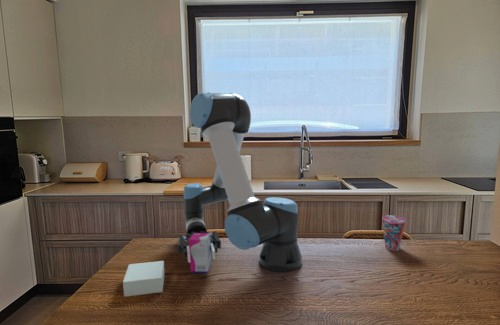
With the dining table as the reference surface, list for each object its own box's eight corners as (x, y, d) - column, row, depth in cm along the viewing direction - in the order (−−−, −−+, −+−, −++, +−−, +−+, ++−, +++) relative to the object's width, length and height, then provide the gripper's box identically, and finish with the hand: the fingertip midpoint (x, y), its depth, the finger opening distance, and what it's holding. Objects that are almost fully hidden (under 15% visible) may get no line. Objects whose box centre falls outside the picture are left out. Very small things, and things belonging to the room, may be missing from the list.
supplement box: (211, 264, 108) (210, 232, 106) (207, 273, 102) (206, 239, 100) (195, 264, 109) (193, 232, 107) (190, 273, 103) (188, 239, 101)
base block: (164, 274, 107) (163, 260, 106) (162, 292, 96) (161, 277, 96) (130, 278, 105) (129, 264, 104) (124, 297, 94) (122, 282, 93)
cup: (378, 242, 129) (379, 214, 127) (400, 243, 127) (402, 215, 125) (384, 253, 120) (386, 222, 117) (408, 254, 118) (410, 223, 116)
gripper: (222, 236, 124) (233, 263, 102) (170, 242, 120) (169, 272, 98) (221, 218, 123) (232, 241, 101) (168, 223, 119) (168, 249, 97)
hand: (201, 256), depth 100 cm, fingers closed on supplement box, 7 cm apart
